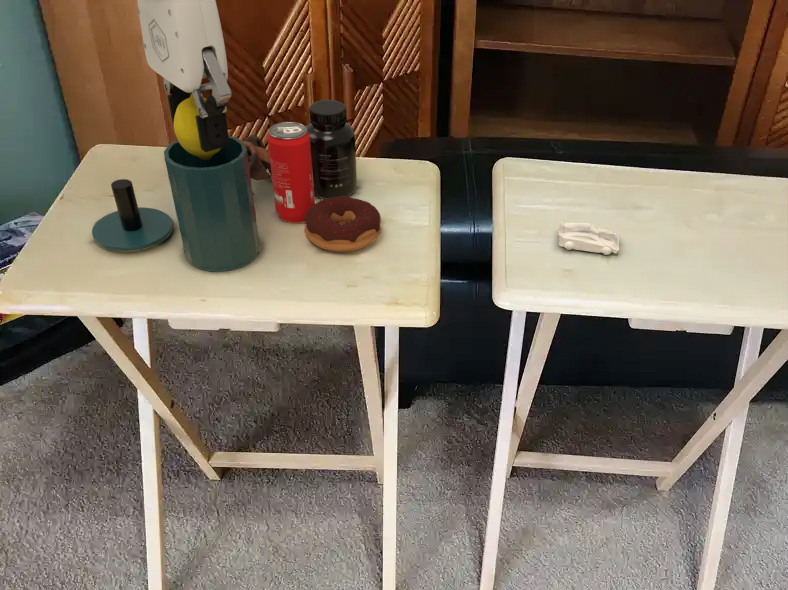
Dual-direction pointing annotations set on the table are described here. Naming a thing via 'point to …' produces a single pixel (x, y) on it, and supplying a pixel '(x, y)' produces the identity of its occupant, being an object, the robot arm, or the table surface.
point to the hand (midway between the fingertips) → (201, 136)
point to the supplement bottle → (332, 150)
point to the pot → (214, 206)
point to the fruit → (189, 129)
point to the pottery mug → (257, 158)
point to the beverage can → (291, 170)
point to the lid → (131, 223)
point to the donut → (342, 237)
